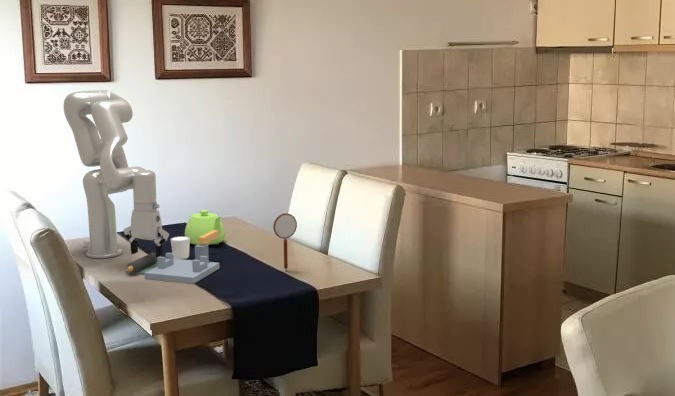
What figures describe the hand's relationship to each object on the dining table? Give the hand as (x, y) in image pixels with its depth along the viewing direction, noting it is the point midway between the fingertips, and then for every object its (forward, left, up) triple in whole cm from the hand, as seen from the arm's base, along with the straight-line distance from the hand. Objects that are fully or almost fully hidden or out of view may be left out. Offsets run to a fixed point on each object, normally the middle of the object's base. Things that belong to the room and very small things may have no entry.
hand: (146, 254), depth 256 cm
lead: (+1, -3, -4) cm, 5 cm away
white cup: (+5, +15, -5) cm, 16 cm away
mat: (+1, 0, -4) cm, 4 cm away
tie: (+19, +9, +4) cm, 22 cm away
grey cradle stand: (+16, -3, -4) cm, 17 cm away
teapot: (+5, +35, -5) cm, 35 cm away
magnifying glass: (+48, +10, -5) cm, 49 cm away
